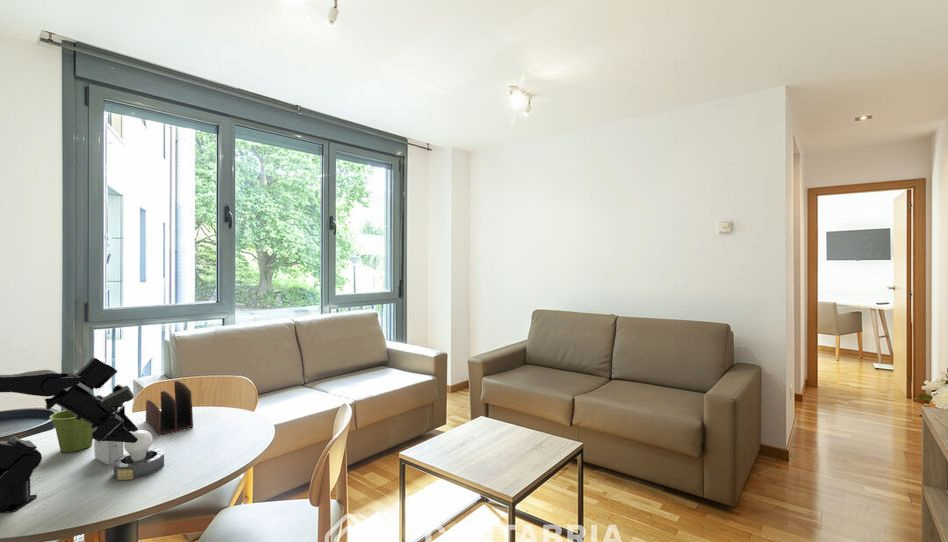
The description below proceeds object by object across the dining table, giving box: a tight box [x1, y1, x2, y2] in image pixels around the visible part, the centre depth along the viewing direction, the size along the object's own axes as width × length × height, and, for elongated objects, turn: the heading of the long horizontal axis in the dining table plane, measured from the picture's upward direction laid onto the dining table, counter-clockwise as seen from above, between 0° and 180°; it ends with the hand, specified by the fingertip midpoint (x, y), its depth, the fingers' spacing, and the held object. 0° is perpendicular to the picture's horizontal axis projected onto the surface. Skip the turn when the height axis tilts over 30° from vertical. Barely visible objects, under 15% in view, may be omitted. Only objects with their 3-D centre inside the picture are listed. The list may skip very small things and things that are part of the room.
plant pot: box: [49, 409, 94, 453], centre depth 135 cm, size 12×12×11 cm
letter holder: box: [145, 380, 194, 437], centre depth 154 cm, size 10×20×14 cm, turn 48°
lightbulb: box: [123, 429, 154, 464], centre depth 121 cm, size 6×6×11 cm
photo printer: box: [93, 439, 124, 466], centre depth 127 cm, size 10×4×12 cm, turn 60°
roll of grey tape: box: [113, 448, 165, 481], centre depth 121 cm, size 12×11×4 cm
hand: (136, 435), depth 121 cm, fingers open, 9 cm apart
